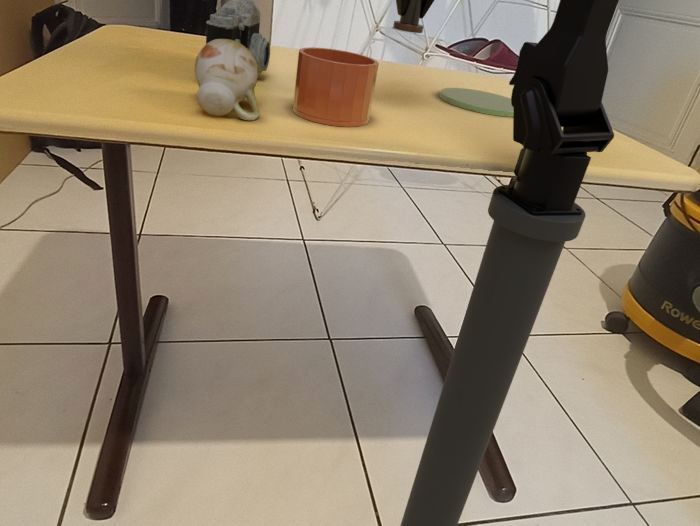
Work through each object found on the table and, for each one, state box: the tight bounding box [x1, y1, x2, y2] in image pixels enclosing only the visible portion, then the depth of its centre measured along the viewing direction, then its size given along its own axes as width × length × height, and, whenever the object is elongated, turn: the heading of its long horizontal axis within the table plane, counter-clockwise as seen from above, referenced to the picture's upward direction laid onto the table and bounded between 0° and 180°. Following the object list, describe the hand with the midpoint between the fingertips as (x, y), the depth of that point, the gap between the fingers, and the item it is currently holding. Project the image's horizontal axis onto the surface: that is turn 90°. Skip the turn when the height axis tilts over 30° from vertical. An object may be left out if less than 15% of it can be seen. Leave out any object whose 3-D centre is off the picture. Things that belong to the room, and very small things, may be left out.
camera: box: [205, 0, 271, 74], centre depth 77 cm, size 15×7×10 cm, turn 175°
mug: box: [194, 39, 260, 121], centre depth 63 cm, size 8×10×10 cm
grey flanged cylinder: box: [392, 0, 424, 34], centre depth 70 cm, size 4×4×5 cm
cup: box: [292, 46, 380, 128], centre depth 67 cm, size 9×9×7 cm
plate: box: [439, 87, 514, 118], centre depth 90 cm, size 14×14×1 cm
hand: (410, 16), depth 70 cm, fingers closed on grey flanged cylinder, 2 cm apart
